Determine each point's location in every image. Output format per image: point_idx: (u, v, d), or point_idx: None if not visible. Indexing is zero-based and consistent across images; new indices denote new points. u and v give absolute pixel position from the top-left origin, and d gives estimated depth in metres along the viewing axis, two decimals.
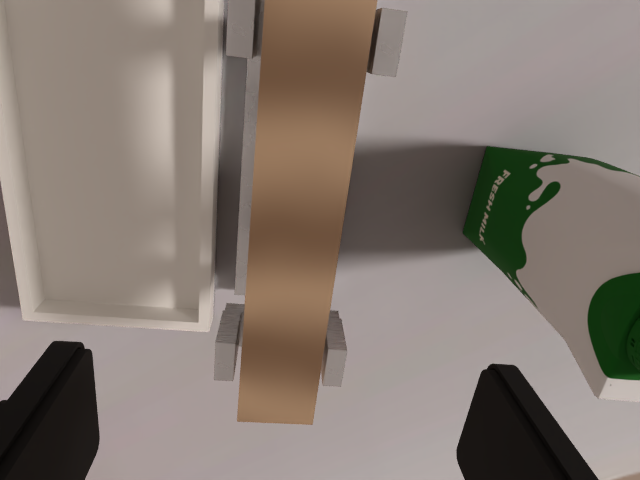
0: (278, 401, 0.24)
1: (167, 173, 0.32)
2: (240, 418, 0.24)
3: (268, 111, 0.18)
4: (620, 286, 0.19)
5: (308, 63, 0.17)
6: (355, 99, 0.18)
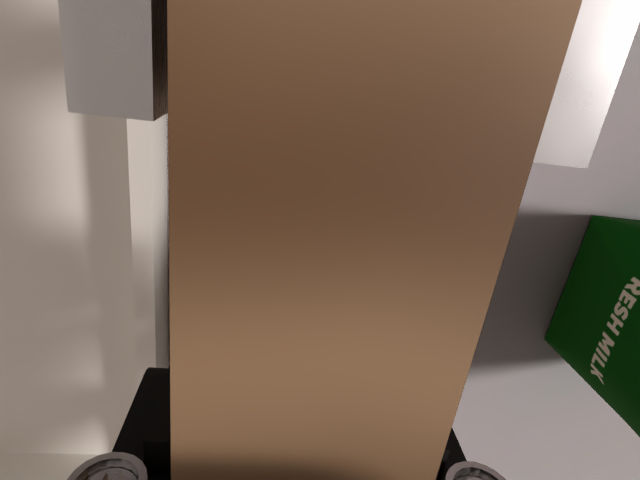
0: None
1: (82, 266, 0.20)
2: None
3: (206, 291, 0.05)
4: None
5: (335, 145, 0.05)
6: (484, 251, 0.06)
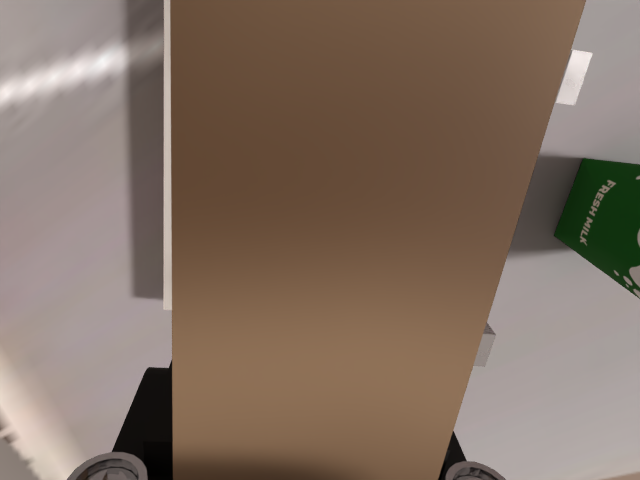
0: None
1: None
2: None
3: (208, 294, 0.05)
4: None
5: (338, 150, 0.05)
6: (486, 254, 0.06)
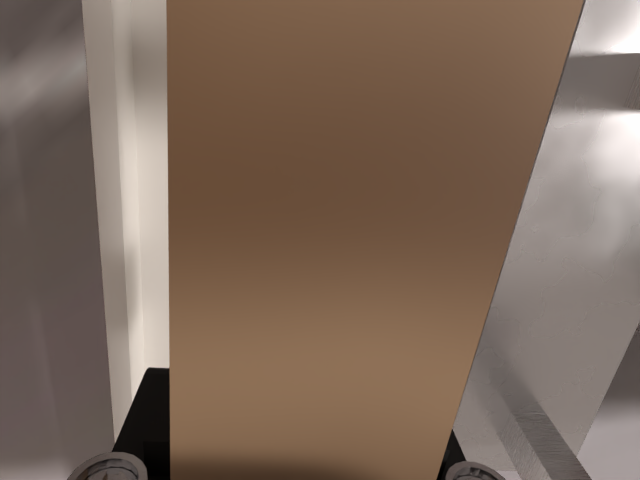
0: None
1: None
2: None
3: (205, 295, 0.05)
4: None
5: (335, 151, 0.05)
6: (484, 256, 0.06)
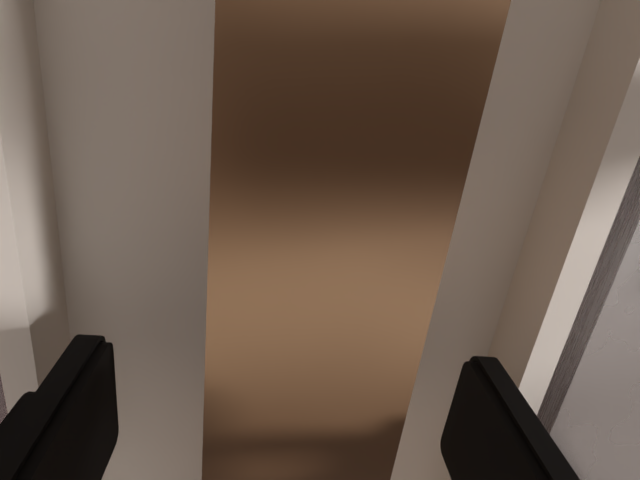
0: None
1: None
2: None
3: (236, 229, 0.07)
4: None
5: (332, 119, 0.07)
6: (445, 199, 0.07)
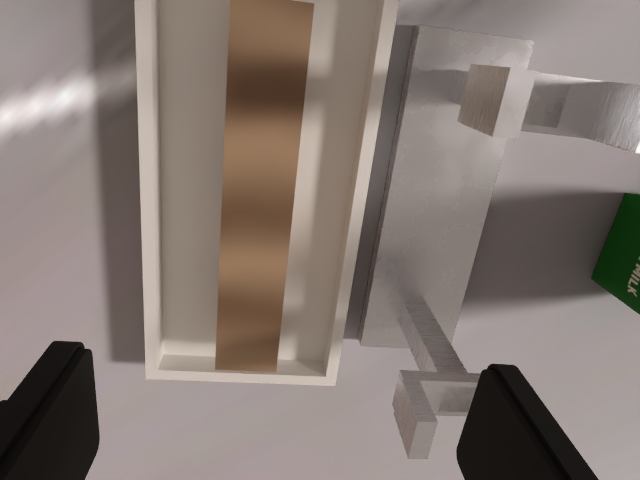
0: (248, 352, 0.30)
1: (304, 226, 0.31)
2: (217, 367, 0.30)
3: (233, 121, 0.24)
4: None
5: (261, 86, 0.23)
6: (298, 112, 0.24)
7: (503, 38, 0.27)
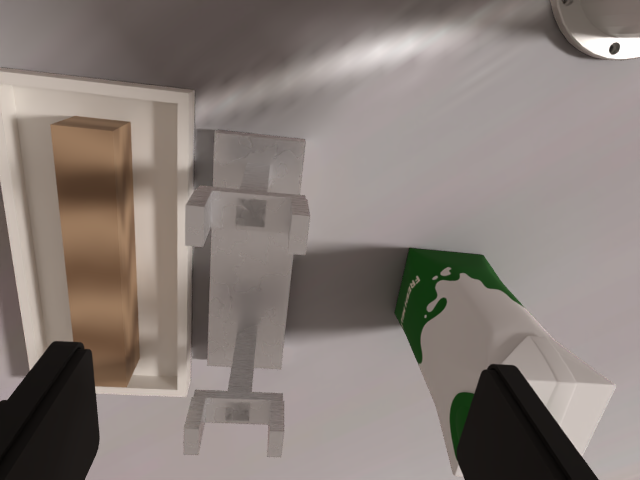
0: (101, 372, 0.39)
1: (150, 274, 0.40)
2: None
3: (65, 209, 0.33)
4: (464, 399, 0.27)
5: (82, 185, 0.32)
6: (112, 202, 0.33)
7: (280, 140, 0.35)
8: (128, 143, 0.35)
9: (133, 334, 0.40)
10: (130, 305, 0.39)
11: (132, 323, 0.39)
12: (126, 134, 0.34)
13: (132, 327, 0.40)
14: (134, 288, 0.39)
